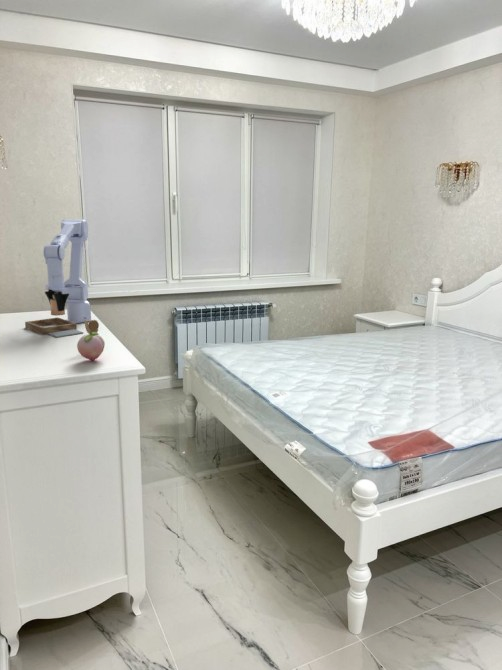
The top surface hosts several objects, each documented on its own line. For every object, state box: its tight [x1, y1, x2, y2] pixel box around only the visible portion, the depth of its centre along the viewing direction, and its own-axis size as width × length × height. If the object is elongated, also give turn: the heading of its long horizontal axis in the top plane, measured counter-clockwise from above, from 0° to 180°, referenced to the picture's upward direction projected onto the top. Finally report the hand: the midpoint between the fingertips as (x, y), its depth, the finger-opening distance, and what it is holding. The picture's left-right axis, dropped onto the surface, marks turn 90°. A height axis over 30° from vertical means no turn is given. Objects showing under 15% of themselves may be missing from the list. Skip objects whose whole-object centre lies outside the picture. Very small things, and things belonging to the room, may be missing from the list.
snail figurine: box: [83, 317, 100, 334], centre depth 176 cm, size 5×6×12 cm
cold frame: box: [24, 316, 78, 335], centre depth 205 cm, size 14×16×2 cm
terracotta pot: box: [49, 292, 66, 317], centre depth 198 cm, size 5×5×9 cm
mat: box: [47, 329, 84, 339], centre depth 197 cm, size 11×7×1 cm, turn 137°
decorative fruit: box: [76, 331, 106, 362], centre depth 162 cm, size 9×8×10 cm
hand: (57, 309), depth 199 cm, fingers closed on terracotta pot, 5 cm apart
